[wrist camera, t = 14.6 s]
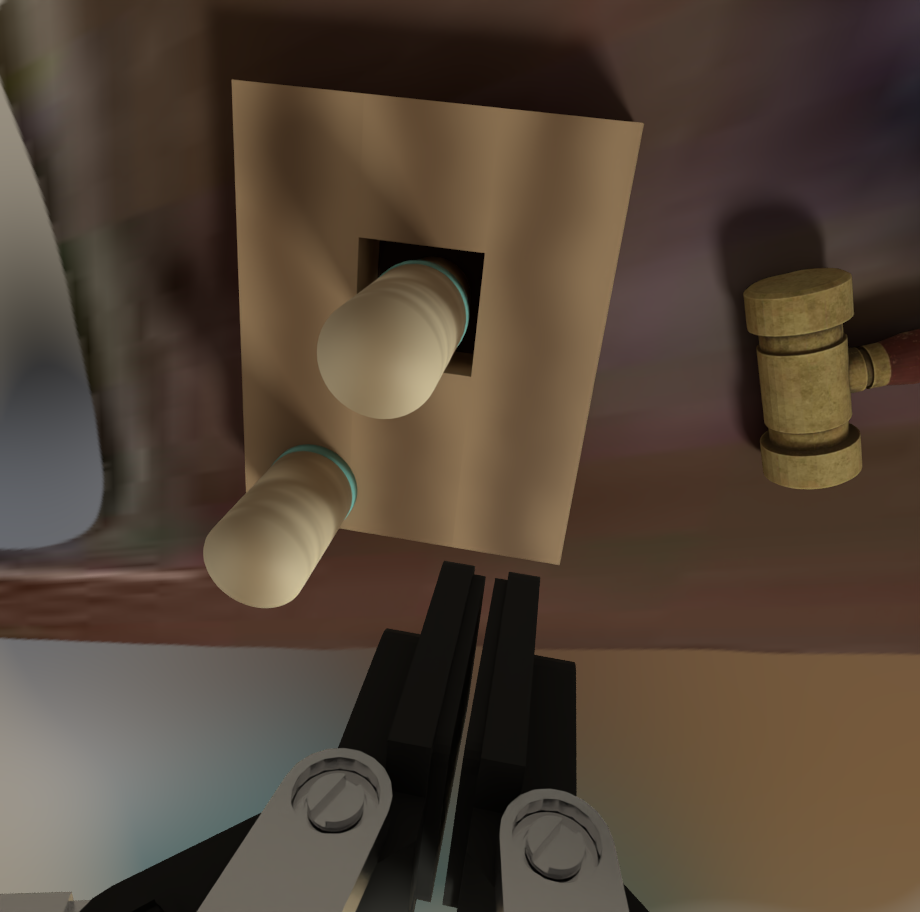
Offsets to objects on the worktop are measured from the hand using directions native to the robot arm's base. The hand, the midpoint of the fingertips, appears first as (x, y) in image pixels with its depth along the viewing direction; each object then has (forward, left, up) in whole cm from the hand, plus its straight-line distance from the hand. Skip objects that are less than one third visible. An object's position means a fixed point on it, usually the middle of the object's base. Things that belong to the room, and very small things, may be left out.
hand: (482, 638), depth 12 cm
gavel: (-21, -1, -28) cm, 35 cm away
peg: (+6, 0, -27) cm, 28 cm away
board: (+6, +2, -27) cm, 28 cm away
